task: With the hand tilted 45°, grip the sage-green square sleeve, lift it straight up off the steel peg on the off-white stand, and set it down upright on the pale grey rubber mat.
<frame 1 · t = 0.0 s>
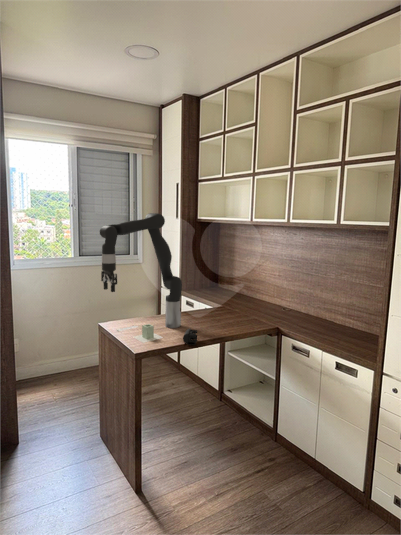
hand: (109, 290, 203), 29 cm above the table, tool pointing down, fingers open, 8 cm apart
end cap: (190, 342, 209), on the table
mat: (132, 331, 225), on the table
sleeve: (147, 337, 210), point 1 cm above the table, touching peg stand
peg stand: (147, 339, 211), on the table
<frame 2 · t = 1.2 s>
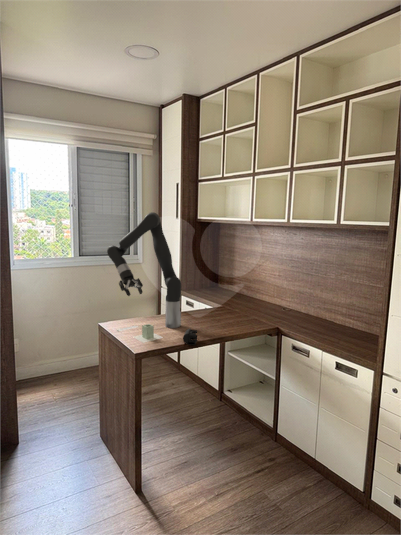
hand: (135, 294, 217), 24 cm above the table, tool tilted 45°, fingers open, 8 cm apart
nothing on the table moved.
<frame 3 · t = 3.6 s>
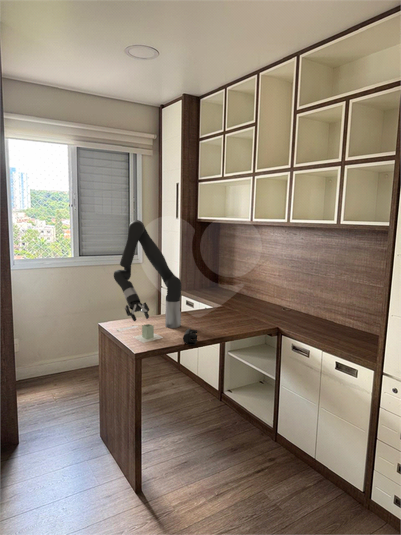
hand: (141, 319, 214), 11 cm above the table, tool tilted 45°, fingers open, 8 cm apart
nothing on the table moved.
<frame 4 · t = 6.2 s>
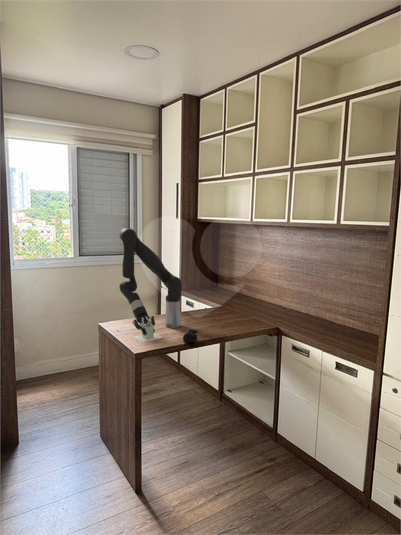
hand: (149, 333, 209), 4 cm above the table, tool tilted 45°, fingers closed on sleeve, 4 cm apart
sleeve: (147, 337, 210), point 2 cm above the table, touching gripper, peg stand
everything else where it was.
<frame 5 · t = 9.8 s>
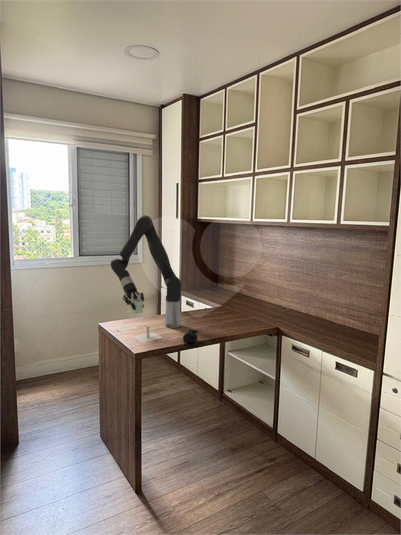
hand: (138, 308, 216), 16 cm above the table, tool tilted 45°, fingers closed on sleeve, 4 cm apart
sleeve: (137, 312, 218), point 14 cm above the table, touching gripper
everything else where it was.
when the fingers open (5 cm above the table, at t = 13.4 s): sleeve drops 1 cm, resting on mat.
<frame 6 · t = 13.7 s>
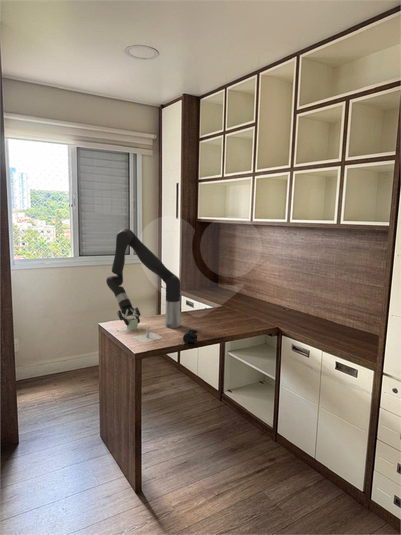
hand: (133, 323, 223), 5 cm above the table, tool tilted 45°, fingers open, 7 cm apart
sleeve: (132, 330, 225), point 1 cm above the table, touching mat
everything else where it was.
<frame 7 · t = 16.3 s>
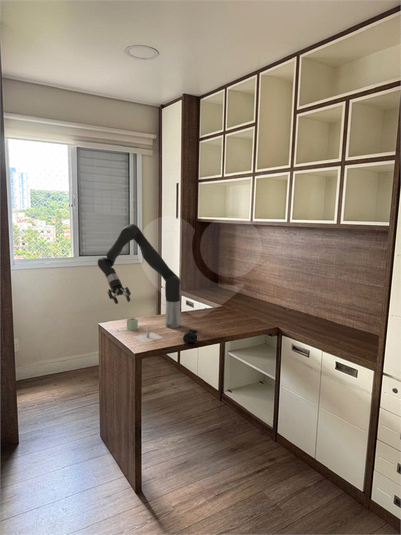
hand: (123, 302, 232), 16 cm above the table, tool tilted 45°, fingers open, 8 cm apart
nothing on the table moved.
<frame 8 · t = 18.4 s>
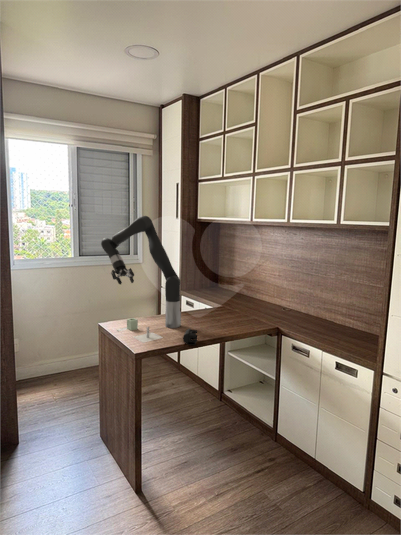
hand: (126, 283, 230), 29 cm above the table, tool tilted 45°, fingers open, 8 cm apart
nothing on the table moved.
at the end: sleeve inside the target area (0.0 cm from its centre), point 0.6 cm above the table; sleeve tilted 0°; the gripper is holding nothing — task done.
